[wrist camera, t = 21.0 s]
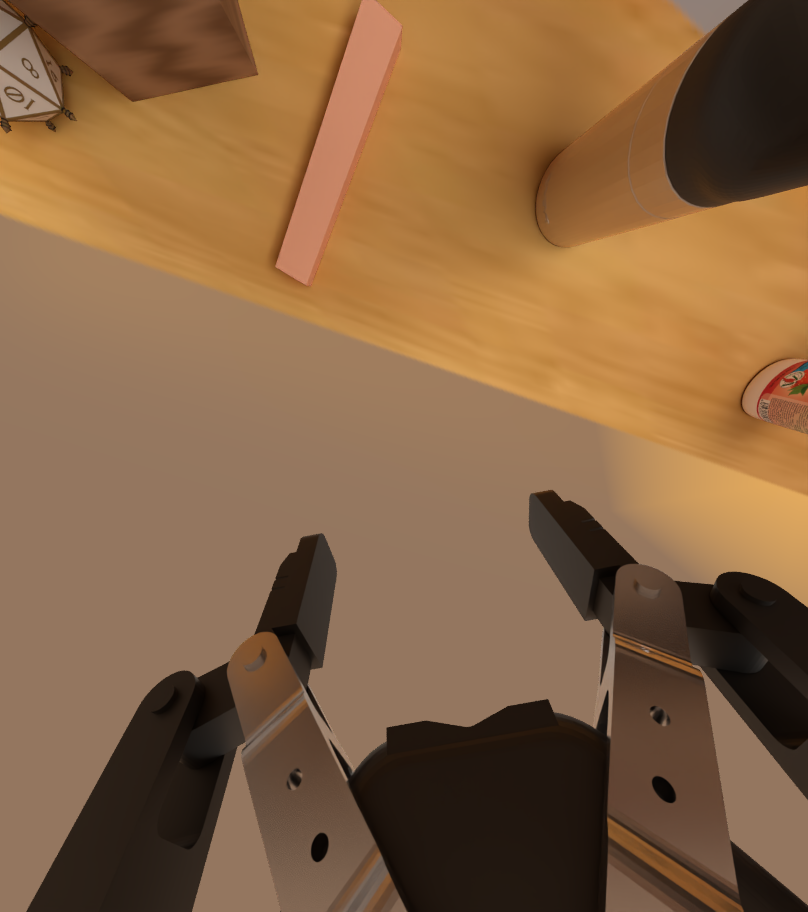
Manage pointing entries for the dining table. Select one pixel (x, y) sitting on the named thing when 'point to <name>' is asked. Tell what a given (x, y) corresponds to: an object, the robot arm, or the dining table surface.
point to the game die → (27, 74)
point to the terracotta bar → (341, 138)
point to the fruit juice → (780, 395)
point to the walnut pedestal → (150, 41)
